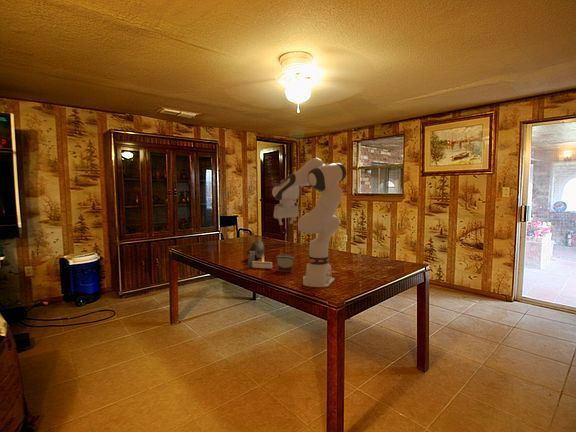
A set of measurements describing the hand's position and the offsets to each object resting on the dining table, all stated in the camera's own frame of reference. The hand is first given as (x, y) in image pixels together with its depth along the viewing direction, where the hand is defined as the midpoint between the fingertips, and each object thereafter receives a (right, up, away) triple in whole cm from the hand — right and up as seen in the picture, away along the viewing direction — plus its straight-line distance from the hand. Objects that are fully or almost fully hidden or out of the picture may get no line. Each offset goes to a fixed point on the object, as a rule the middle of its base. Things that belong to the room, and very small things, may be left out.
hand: (286, 224), depth 206 cm
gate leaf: (-16, -30, +5) cm, 34 cm away
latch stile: (-25, -29, +21) cm, 44 cm away
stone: (-24, -28, +35) cm, 51 cm away
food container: (0, -31, 0) cm, 31 cm away
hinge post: (-25, -30, +7) cm, 40 cm away
